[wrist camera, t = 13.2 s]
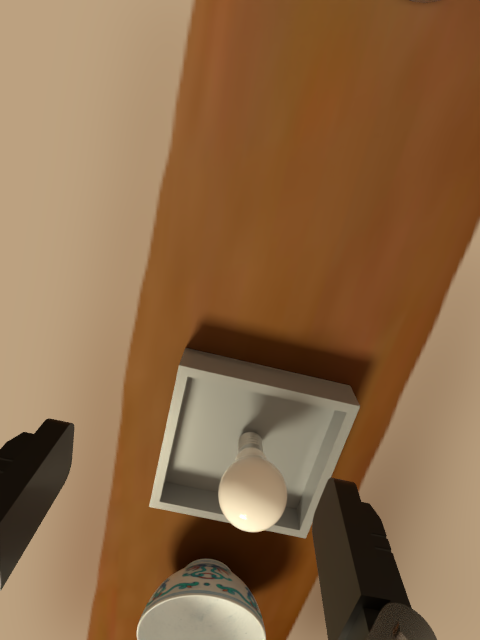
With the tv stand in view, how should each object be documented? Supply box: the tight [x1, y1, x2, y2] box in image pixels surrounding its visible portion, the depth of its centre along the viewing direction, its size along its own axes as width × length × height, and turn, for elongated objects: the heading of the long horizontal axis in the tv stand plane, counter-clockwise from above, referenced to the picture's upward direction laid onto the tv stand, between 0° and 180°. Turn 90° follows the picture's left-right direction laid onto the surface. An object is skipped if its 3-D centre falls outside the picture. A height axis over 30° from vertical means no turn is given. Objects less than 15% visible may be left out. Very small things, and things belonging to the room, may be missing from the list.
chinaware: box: [137, 559, 266, 640], centre depth 49 cm, size 15×15×8 cm
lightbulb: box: [218, 432, 287, 532], centre depth 39 cm, size 6×6×11 cm
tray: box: [149, 348, 360, 538], centre depth 43 cm, size 18×18×4 cm
